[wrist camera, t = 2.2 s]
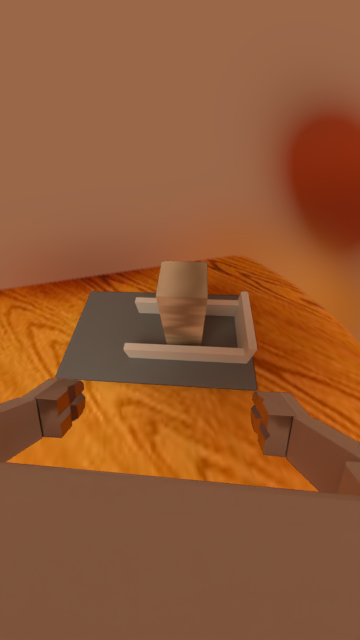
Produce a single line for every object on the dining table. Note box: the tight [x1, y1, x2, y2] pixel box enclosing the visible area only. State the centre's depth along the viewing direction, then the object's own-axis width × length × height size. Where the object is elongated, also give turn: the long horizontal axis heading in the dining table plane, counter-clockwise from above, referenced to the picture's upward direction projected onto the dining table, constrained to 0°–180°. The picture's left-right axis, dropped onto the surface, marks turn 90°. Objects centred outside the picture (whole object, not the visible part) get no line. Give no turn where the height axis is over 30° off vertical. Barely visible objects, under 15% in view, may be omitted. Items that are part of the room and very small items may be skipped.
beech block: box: [156, 261, 208, 346], centre depth 24 cm, size 5×5×12 cm
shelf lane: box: [55, 291, 258, 391], centre depth 28 cm, size 28×16×6 cm, turn 86°
